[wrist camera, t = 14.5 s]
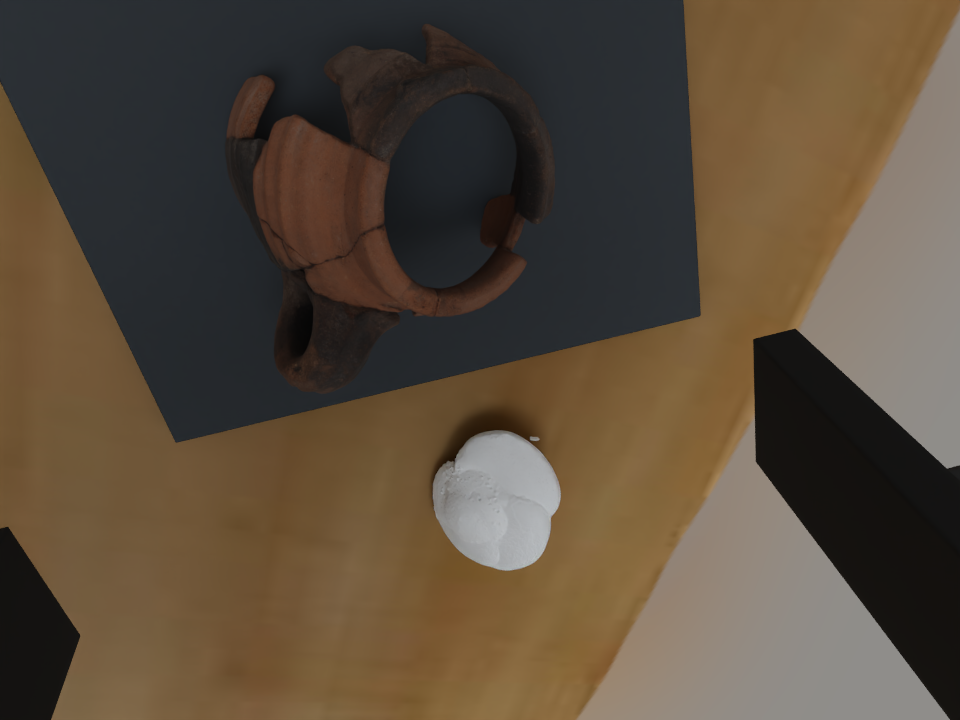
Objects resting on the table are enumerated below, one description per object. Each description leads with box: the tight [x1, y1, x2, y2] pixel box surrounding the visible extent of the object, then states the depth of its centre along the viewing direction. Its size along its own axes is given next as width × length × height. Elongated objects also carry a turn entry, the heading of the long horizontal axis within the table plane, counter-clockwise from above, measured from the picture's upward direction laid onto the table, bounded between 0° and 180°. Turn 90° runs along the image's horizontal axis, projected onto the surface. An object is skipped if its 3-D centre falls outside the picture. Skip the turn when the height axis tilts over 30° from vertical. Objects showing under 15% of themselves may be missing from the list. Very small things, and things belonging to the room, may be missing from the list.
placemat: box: [0, 0, 701, 442], centre depth 29 cm, size 22×17×1 cm
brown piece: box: [225, 24, 555, 394], centre depth 26 cm, size 12×10×8 cm
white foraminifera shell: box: [432, 430, 561, 571], centre depth 35 cm, size 7×5×4 cm
